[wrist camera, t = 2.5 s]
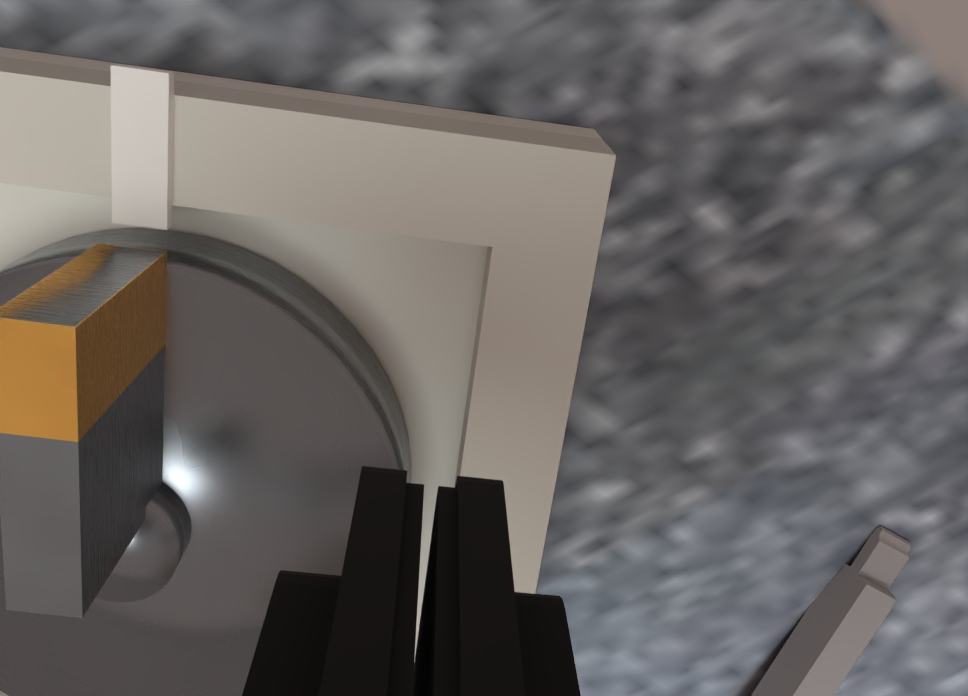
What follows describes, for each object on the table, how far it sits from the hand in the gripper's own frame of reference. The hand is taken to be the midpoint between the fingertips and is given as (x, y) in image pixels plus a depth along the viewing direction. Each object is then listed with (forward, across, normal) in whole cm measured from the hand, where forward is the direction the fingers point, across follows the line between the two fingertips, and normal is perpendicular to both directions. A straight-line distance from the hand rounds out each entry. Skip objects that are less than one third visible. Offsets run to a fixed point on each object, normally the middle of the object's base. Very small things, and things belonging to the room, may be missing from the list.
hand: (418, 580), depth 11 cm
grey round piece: (+10, +6, +4) cm, 12 cm away
